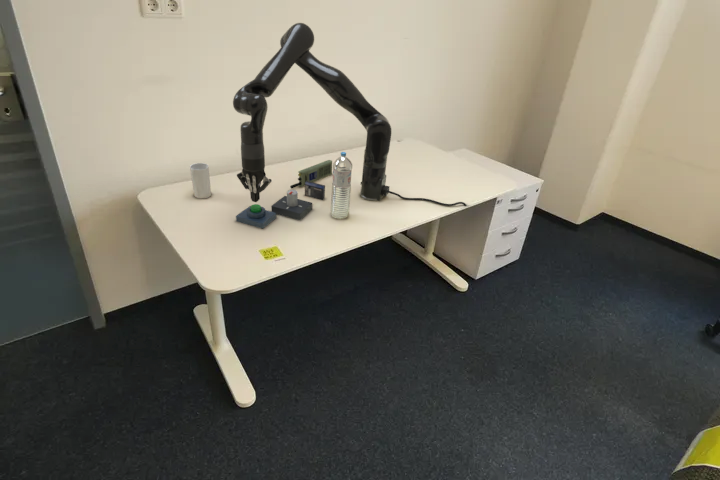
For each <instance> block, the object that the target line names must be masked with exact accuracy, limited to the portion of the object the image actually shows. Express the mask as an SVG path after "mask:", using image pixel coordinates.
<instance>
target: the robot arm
mask: <svg viewBox="0 0 720 480" xmlns="http://www.w3.org/2000/svg"><path fill="white" fill-rule="evenodd" d="M314 43H315V34H314V32H313V30H312V29H311V27H310V26H309V25H308V24H306V23H304V22H297V23H294V24H293V25H291V26H290V27H289V28H288V29H287V30H286V32H285V33H283V35H282V36H281V37H280V40H279V45H280V48H279V49H278V51H277V52H276V53H275V54H274V55H273V56H272V57H271V58H270V60H268V62H266V64H264V66H263V67H262V68H261V70H260V71H259V72H258V73H257V75H256V76H255V77H254V78H253V79H252V80H250V81H248V83H246V84H245V85H243V86H242V87H241V88H239V89H238V91H236V92H235V94H234V96H233V98H232V99H233V100H232V106H233V109H234V110H235V111H236V112H237V113H238V114H241V115H246V116H249V117H250V121H244V122H242V123H241V125H240V127H239V130H240V156H241V159H240V160H241V168H242V169H241V171H240V172H238V173H237V174H236V177H237V178H238V180H239V181H240V183H241V185H242V186H243V187H244V189H245V190H248V191H249V194H250V200H251V202H253V203H257V202H258V201H260V200H261V199H260V197H261V193H262V192H263V191H265V190H266V188H268V186H269V185H270V184H271V183H272V179H271V178H268V177H267V176H266V171H265V168H266V158H265V157H266V156H265V145H264V125H265V121H266V117H267V114H268V107H269V105H268V102H267V99H266V98H269V97H271V96H272V95H273V94H274V93H275V91H276V90H277V89H278V88H279V86H280V85H281V83H282V82H283V80H284V79H285V77H286V76H287V74H288V73H289V72H290V70H291V69H292V68H293V66H294V65H297V66H298V67H299V68H300V69H301V70H302V71H304V72H305V73H306V74H307V75H308V76H309V77H310V78H311V79H312V80H313V81H315V83H316V84H317V85H319V86H320V87H321V89H323V91H324V92H326V94H327V95H328V96H329V97H330V98H331V99H332V100H333V101H334V102H335V103H336V105H338V106H340V107H341V108H343V109H344V110H345V111H347V112H348V113H350V114H352V115H353V116H354V117H355V118H356V119H357V120H358V121H359V123H360V124H361V125H362V126H363V128H364V129H365V130H366V142H365V149H364V151H363V152H364V153H363V163H362V174H361V175H362V176H361V181H360V198H362V199H364V200H366V201H371V202H374V201H376V202H381V200H382V199H383V198H384V197H387V195H388V194H391V195H394V196H397V197H399V198H400V199H402V200H405V201H425V202H431V203H434V204H437V205H441V206H445V207H452V206H453V207H454V206H457V205H463V206H465V207H467V204H466V203H465V202H463V201H457V202H453V203H446V202H445V203H444V202H439V201H437V200H434V199H430V198H424V197H405V196H402V195H401V194H399V193H397V192H394V191H391V190H390V186H389V185H386V182H387V174H386V171H387V162H388V155H389V152H390V146H391V139H392V126H391V124H390V122H389V120H388V118H387V117H386V116H385V115H383V114H382V113H381V112H380V111H379V110H377V109H376V108H375V107H374V106H373V105H372V104H371V103H370V102H369V101H368V100H367V99H366V97H365V96H364V94H362V92H361V91H360V89H358V87H357V86H356V85H355V84H354V82H353V81H352V80H351V79H350V78H349V77H348V76H347V75H346V74H345V73H344V72H343V71H342V70H340V69H338V68H336V67H334V66H332V65H330V64H327V63H324V62H322V61H321V60H319V59H318V57H315V56H314V55H313V53H311V49H312V48H313V46H314Z"/></svg>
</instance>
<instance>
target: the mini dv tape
mask: <svg viewBox="0 0 720 480" xmlns="http://www.w3.org/2000/svg"><path fill="white" fill-rule="evenodd" d="M304 196H305V197H308V198H312V199H316V200H320V201H324V200H325V198H326V185H325V184H322V183H317V182H310V181H306V182H305V186H304Z"/></svg>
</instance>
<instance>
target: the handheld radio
mask: <svg viewBox="0 0 720 480" xmlns="http://www.w3.org/2000/svg"><path fill="white" fill-rule="evenodd" d="M331 175H333V160H332V159H327V160H325V161H322V162H319V163H316V164H314V165H311V166H309V167H306V168H303V169H301V170H298V178H297V180H298V182H297V183H294V184H292V185H290V186H289V187H290V190H293V189H294V188H297V187H299V188H302V187H305V182H306V181H310V182H314V183H316V182H317V181H319V180H322V179H324V178H326V177H329V176H331Z"/></svg>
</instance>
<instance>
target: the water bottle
mask: <svg viewBox="0 0 720 480" xmlns="http://www.w3.org/2000/svg"><path fill="white" fill-rule="evenodd" d="M352 170H353V163H352V161H351V160H350V159H349V158H348V157H347V152H346V151H341V152H340V156H339V157H337V158H336V159H335V160H334V161H333V162H332V183H331V199H330V216H331V217H332V218H333V219H336V220H344V219H346V218H348V217H349V213H350V199H351V187H352Z"/></svg>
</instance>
